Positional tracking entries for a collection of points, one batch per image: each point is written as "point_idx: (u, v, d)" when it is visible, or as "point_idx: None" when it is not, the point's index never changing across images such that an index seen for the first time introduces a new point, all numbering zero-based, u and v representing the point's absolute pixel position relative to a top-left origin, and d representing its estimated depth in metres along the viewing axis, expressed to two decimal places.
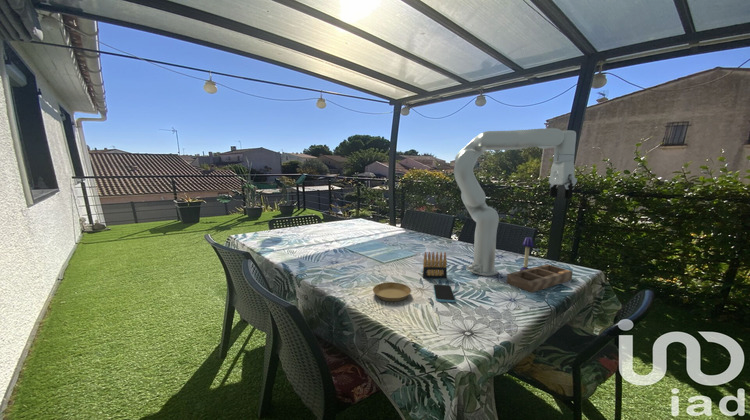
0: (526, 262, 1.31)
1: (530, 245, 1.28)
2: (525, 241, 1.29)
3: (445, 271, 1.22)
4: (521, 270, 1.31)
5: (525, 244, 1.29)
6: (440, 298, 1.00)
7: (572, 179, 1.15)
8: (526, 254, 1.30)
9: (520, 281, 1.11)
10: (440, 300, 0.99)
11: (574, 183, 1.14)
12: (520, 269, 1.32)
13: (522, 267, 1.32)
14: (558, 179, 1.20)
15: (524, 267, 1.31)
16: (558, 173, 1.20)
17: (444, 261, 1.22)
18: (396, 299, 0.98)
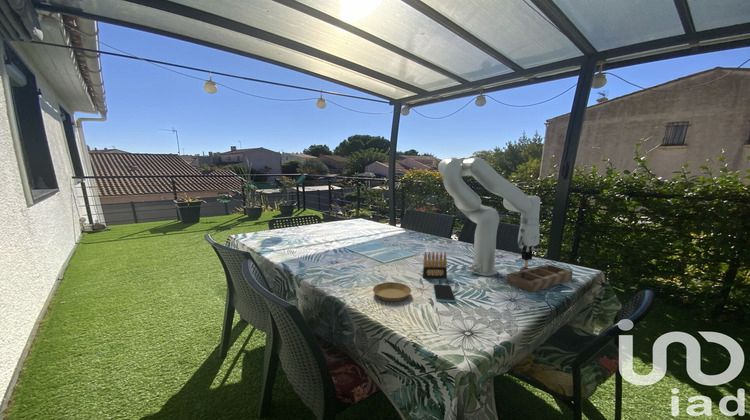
0: (526, 262, 1.31)
1: None
2: None
3: (445, 271, 1.22)
4: (521, 270, 1.31)
5: None
6: (440, 298, 1.00)
7: None
8: None
9: (520, 281, 1.11)
10: (440, 300, 0.99)
11: None
12: (520, 269, 1.32)
13: (522, 267, 1.32)
14: (536, 240, 1.28)
15: (524, 267, 1.31)
16: (536, 235, 1.28)
17: (444, 261, 1.22)
18: (396, 299, 0.98)
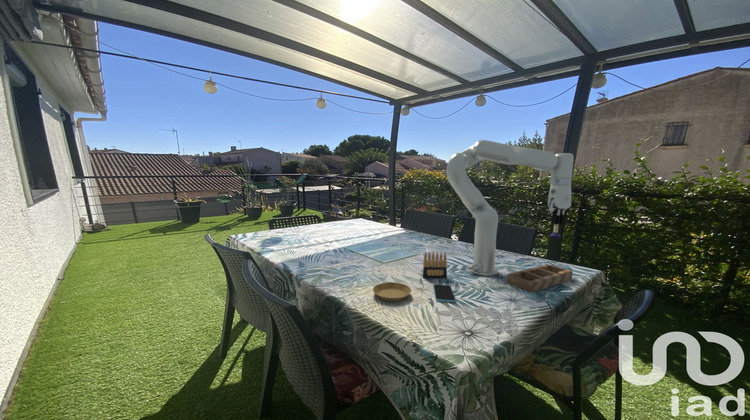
0: (556, 227, 1.20)
1: None
2: None
3: (445, 271, 1.22)
4: (551, 236, 1.21)
5: (556, 207, 1.18)
6: (440, 298, 1.00)
7: None
8: None
9: (520, 281, 1.11)
10: (440, 300, 0.99)
11: None
12: (550, 235, 1.22)
13: (552, 233, 1.21)
14: (568, 202, 1.17)
15: (554, 232, 1.21)
16: (568, 196, 1.17)
17: (444, 261, 1.22)
18: (396, 299, 0.98)
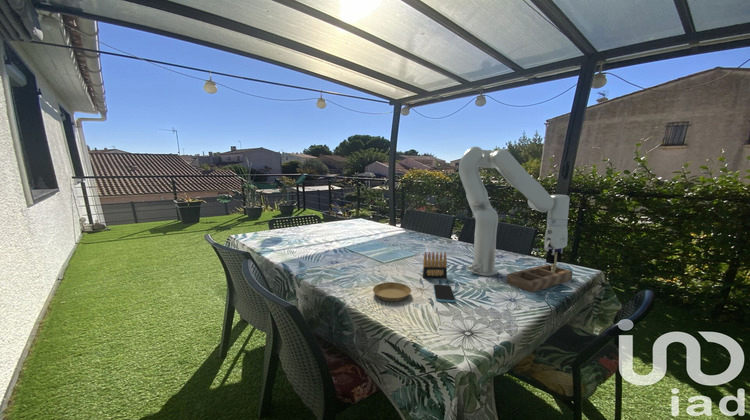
0: (554, 268, 1.22)
1: (558, 250, 1.20)
2: None
3: (445, 271, 1.22)
4: None
5: None
6: (440, 298, 1.00)
7: None
8: (554, 259, 1.22)
9: (520, 281, 1.11)
10: (440, 300, 0.99)
11: None
12: None
13: None
14: (564, 242, 1.20)
15: None
16: (564, 236, 1.19)
17: (444, 261, 1.22)
18: (396, 299, 0.98)
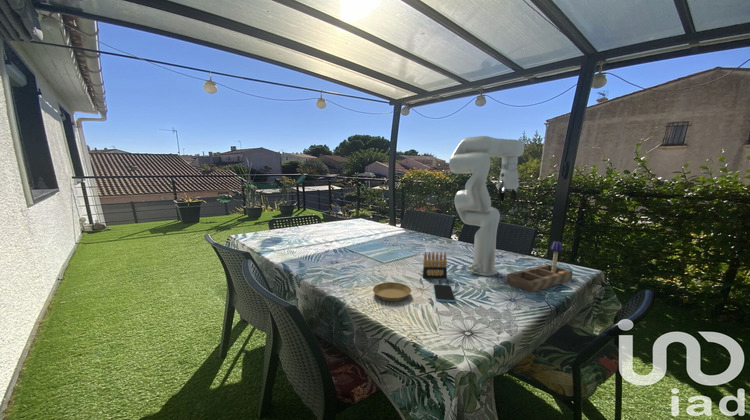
0: (554, 268, 1.22)
1: (559, 250, 1.20)
2: (554, 245, 1.21)
3: (445, 271, 1.22)
4: None
5: (554, 249, 1.21)
6: (440, 298, 1.00)
7: (518, 184, 1.47)
8: (554, 259, 1.22)
9: (520, 281, 1.11)
10: (440, 300, 0.99)
11: None
12: None
13: None
14: (515, 184, 1.43)
15: None
16: (515, 179, 1.42)
17: (444, 261, 1.22)
18: (396, 299, 0.98)
